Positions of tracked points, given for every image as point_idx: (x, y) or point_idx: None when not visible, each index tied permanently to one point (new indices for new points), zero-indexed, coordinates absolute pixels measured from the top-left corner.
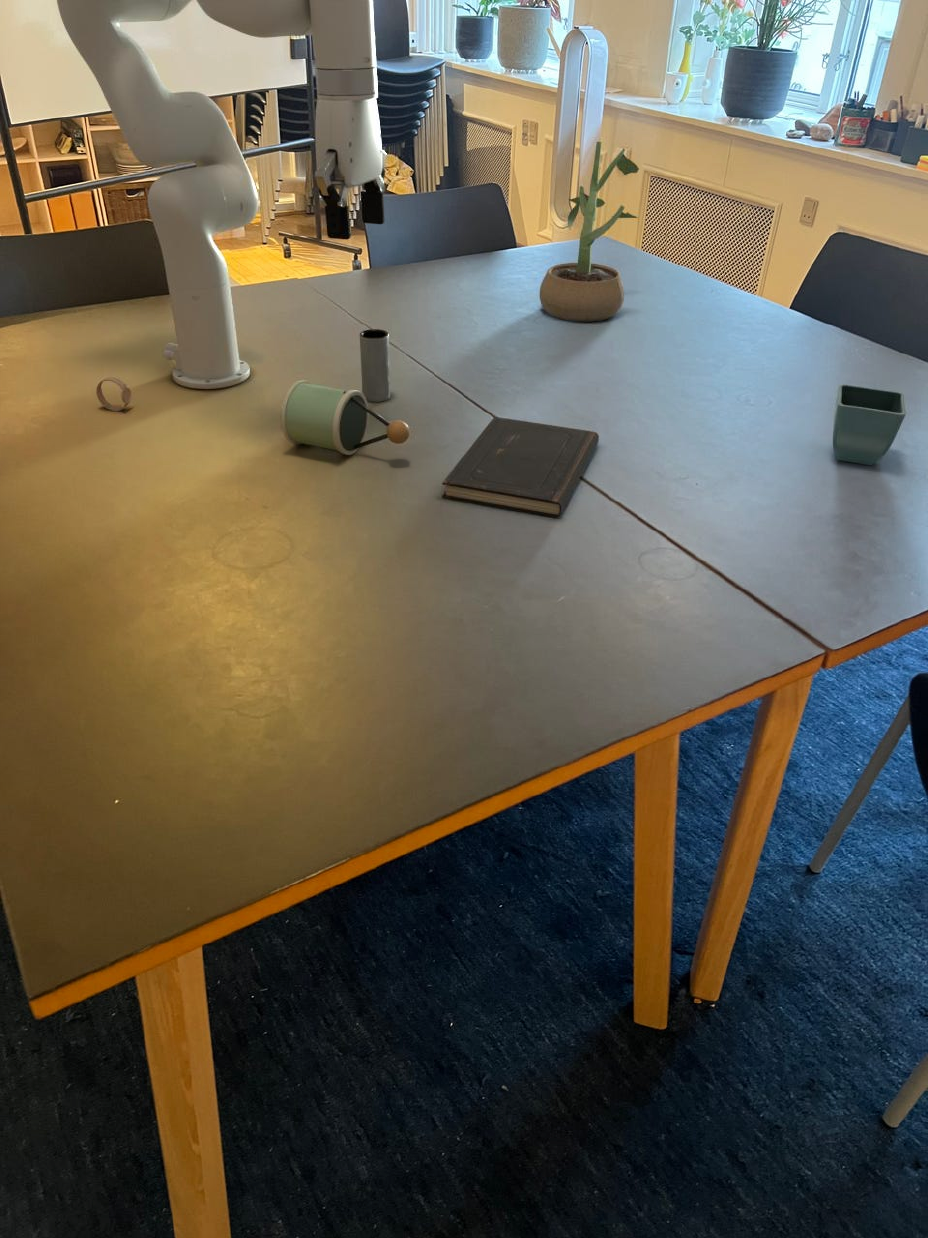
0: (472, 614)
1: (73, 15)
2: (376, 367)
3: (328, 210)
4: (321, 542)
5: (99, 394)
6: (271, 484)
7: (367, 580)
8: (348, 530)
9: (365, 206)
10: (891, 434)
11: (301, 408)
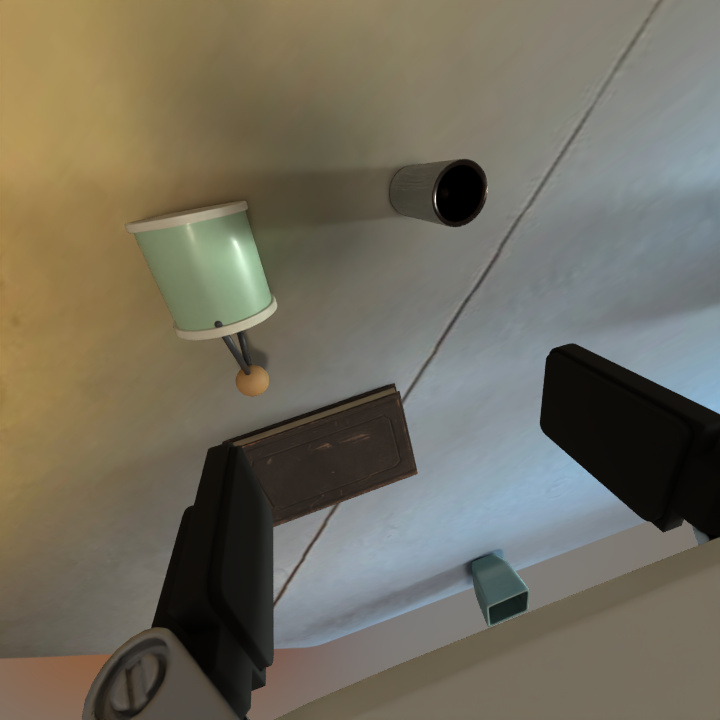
0: (90, 562)
1: None
2: (414, 212)
3: (153, 623)
4: (36, 425)
5: None
6: (64, 278)
7: (37, 495)
8: (83, 426)
9: (604, 407)
10: (480, 607)
11: (149, 264)
